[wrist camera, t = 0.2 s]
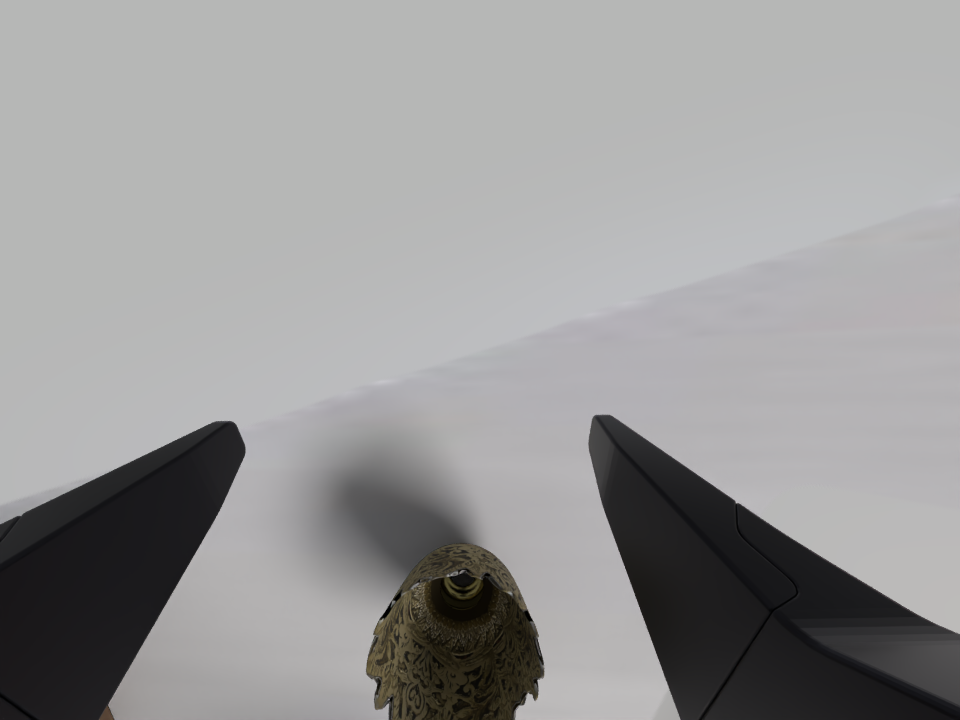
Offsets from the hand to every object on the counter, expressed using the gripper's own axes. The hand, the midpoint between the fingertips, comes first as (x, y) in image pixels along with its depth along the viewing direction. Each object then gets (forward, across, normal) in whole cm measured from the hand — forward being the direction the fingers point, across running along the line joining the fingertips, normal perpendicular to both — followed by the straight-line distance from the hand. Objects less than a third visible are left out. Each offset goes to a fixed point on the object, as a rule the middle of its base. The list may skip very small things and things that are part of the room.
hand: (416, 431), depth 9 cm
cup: (+7, 0, +17) cm, 18 cm away
